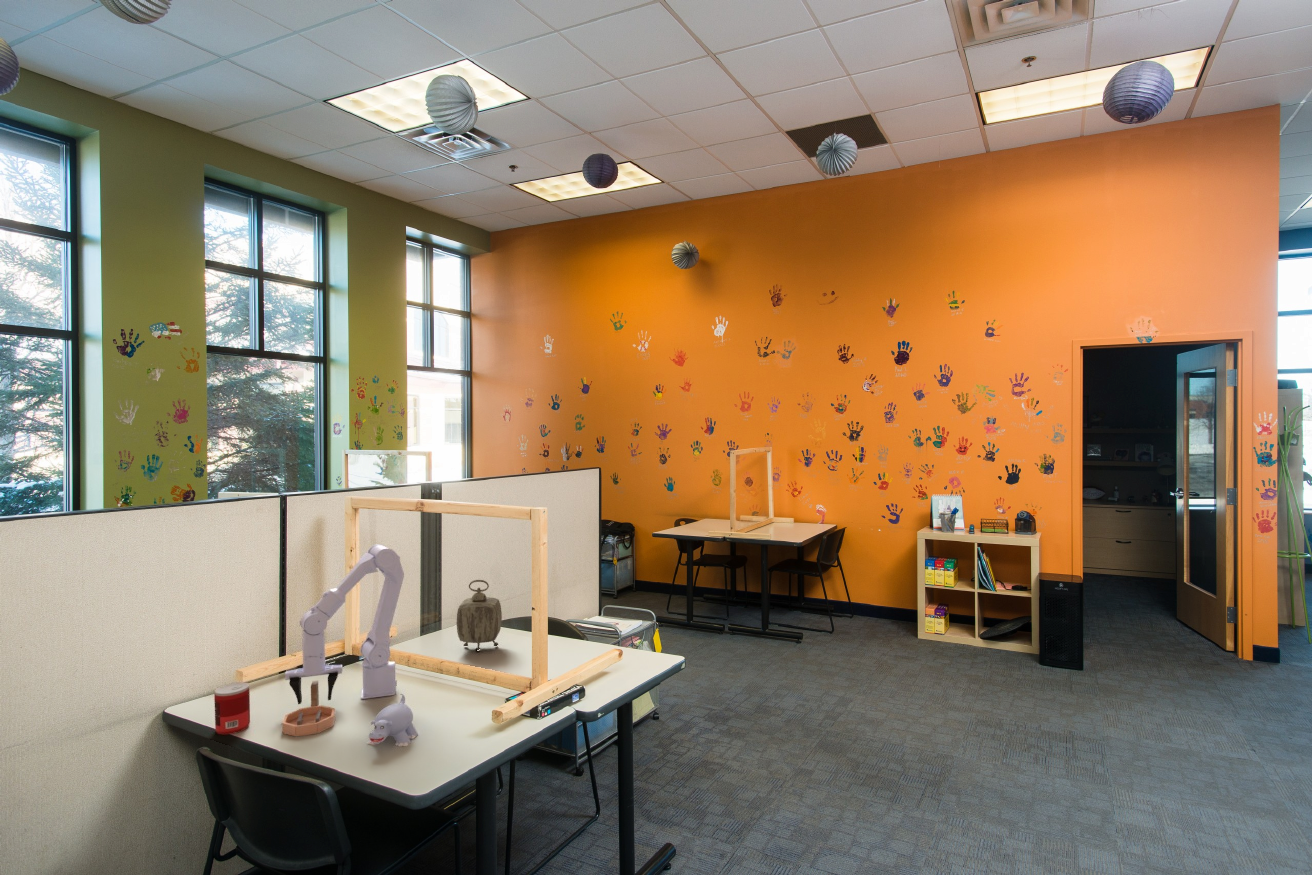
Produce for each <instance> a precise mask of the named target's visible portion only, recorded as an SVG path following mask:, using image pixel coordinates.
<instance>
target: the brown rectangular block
mask: <svg viewBox="0 0 1312 875" xmlns="http://www.w3.org/2000/svg"><path fill="white" fill-rule="evenodd" d="M319 696H320V695H319V680H312V682H311V684H310V707H313V706H320V705H319V704H320V703H319V701H320V700H319V698H320V697H319Z"/></svg>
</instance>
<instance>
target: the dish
mask: <svg viewBox="0 0 1312 875" xmlns="http://www.w3.org/2000/svg"><path fill="white" fill-rule="evenodd" d="M335 720H336V708H335V707H331V706H326V705H318V706H313V707H311V706H307V707H302V708H299V709H296V710H294V711H292V712H289V713H288V714H285V715H284V717H283V720H282V724H281V725H282V734H286V735H290V736H293V737H303V736H309V735H315V734H319V733H321V732H324V731H325V730H327V729H330V728H331V727H334V725H335Z"/></svg>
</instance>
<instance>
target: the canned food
mask: <svg viewBox="0 0 1312 875" xmlns="http://www.w3.org/2000/svg"><path fill="white" fill-rule="evenodd" d="M213 695H214V725H215V726H214V727H215V728H214V729H215V732H216V733H217V734H218V735H233V734H237V733H239V732H240V733H241V732H242V731H244V730H246V729H247V728H248V727H249V726H250V725H251V724H250V723H251V714H250V713H251V706H250V705H251V702H250V700H251V698H250V696H251V695H250V684H249V683H247V682H231V683H227V684H224V685H222V686H218V688H216V689H215V690H214V694H213Z"/></svg>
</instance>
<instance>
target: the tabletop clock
mask: <svg viewBox="0 0 1312 875" xmlns="http://www.w3.org/2000/svg"><path fill="white" fill-rule="evenodd" d="M477 582H479V583H483V584H486V585H487V587H486V588H484V589H481V587H477V589H475V588H474V589H473V588H471V585H472V584H473V583H477ZM489 587H490V586H489V583H488V582H487V581H486V580H484V579H475V580H472V581H470V582H469V584H468V589H469V590H470V591H472V592H475V593H473V594H472V596H471V597H469V598H466V599H464V600H463V601H462V602H461V603H460V604H459V606H458V608H457V613H456V632H457V637H458V639H459V641H460V642H463V647H464V646H468V647H469V644H468V643H470V644H471V643H472V644H477V647H476V649H477V650H479V649H481V647H480V644H482V643H490V642H491V643H492V642H493V647H494V646H497V645H498V646H499V643H498V642H496V639H497V637H498V635H499V634H500V631H501V629H502V628H501V627H502V619H503V616H502V615H503V614H502V604H501V602H500V599H498V598H496V597H492V596H489V597H488V596H487V595H486V594H485V593H484V592H485V591H487V590H488V589H489ZM498 646H497V647H498ZM476 649H475V650H476Z"/></svg>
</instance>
